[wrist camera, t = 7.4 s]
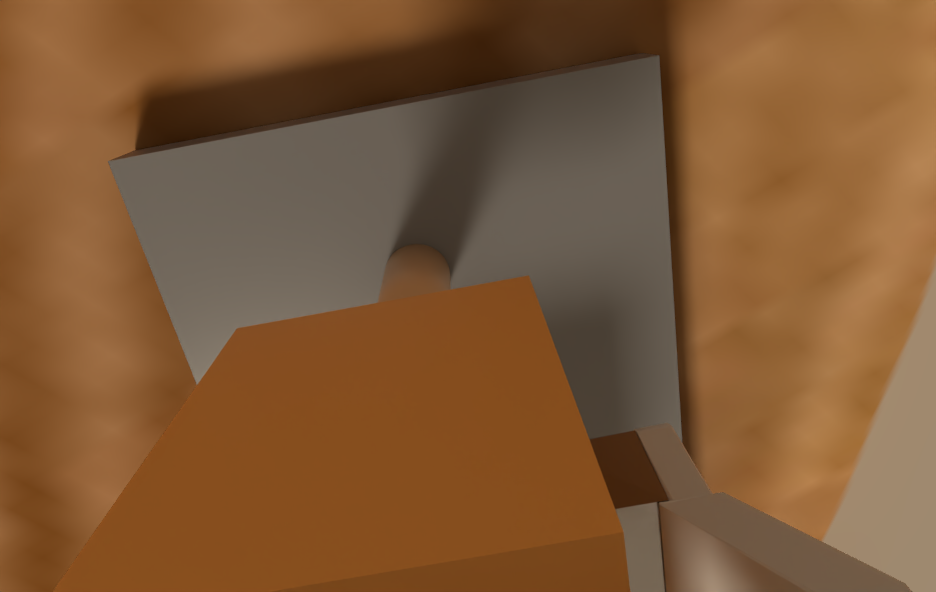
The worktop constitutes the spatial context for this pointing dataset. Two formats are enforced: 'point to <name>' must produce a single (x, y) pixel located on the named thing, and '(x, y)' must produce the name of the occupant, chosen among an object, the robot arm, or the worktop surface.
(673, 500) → the robot arm
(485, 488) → the orange matte cube
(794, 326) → the worktop surface
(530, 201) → the plate
